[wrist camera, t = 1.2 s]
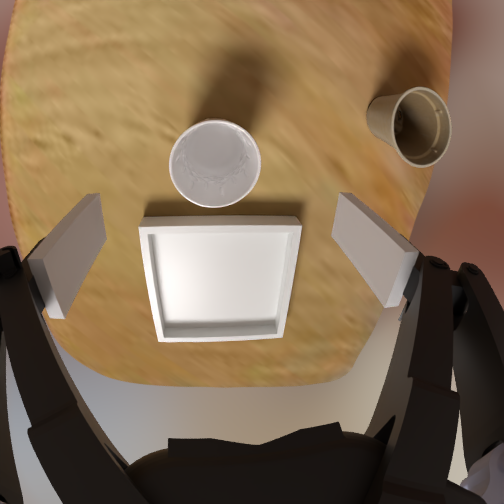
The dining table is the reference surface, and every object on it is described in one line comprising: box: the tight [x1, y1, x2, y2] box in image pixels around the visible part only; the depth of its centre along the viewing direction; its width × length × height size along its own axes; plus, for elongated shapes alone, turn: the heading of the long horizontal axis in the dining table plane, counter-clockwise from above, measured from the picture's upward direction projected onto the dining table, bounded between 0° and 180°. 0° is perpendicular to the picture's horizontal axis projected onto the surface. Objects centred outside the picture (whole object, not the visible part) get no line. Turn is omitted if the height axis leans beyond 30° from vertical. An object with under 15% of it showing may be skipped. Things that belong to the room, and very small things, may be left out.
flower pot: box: [367, 87, 452, 168], centre depth 29 cm, size 9×9×9 cm
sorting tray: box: [139, 215, 302, 342], centre depth 41 cm, size 20×20×3 cm
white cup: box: [169, 118, 261, 208], centre depth 28 cm, size 8×8×10 cm
